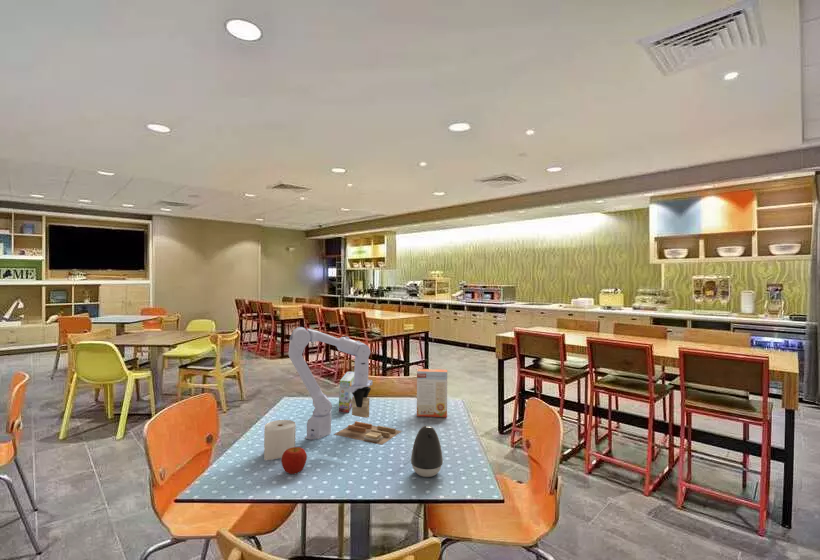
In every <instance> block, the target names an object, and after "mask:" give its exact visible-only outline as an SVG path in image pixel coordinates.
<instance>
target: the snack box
mask: <svg viewBox="0 0 820 560" xmlns="http://www.w3.org/2000/svg"><path fill="white" fill-rule="evenodd" d="M353 384H354V371H346V372H345V374H344V375H343V376H342V378H340V380H339V387H338V388H339V391H338V413H345V412H346V414H347V413H350V411H351V410H352V397H353V394H352V392H349V387H350V386H352V385H353Z"/></svg>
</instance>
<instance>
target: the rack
mask: <svg viewBox="0 0 820 560" xmlns="http://www.w3.org/2000/svg"><path fill="white" fill-rule="evenodd" d="M369 432H375V433H380V434H382V436H383V439H382V440H381V441H379V442H378V443H377V442H373V441H368V440H364V437H365V434H367V433H369ZM402 432H403V431H402V430H397V429H396V428H394V427H388V426H382V425H373V424H372V423H366V422H362V421H354V423H353V424H348V425H347V427H345V428H343V429H341V430H339V431H337V432H335V433H334V434H333V435H335V436H339V437H344V438H348V439H349V438H350V439H353V440H358V441H362V442H367V443H372V444H377V445H382V446H383V445H384V444H385V443H387V442H389V441H391V439H393V438H394V437H396V436H398V435H400V434H401V433H402Z"/></svg>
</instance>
